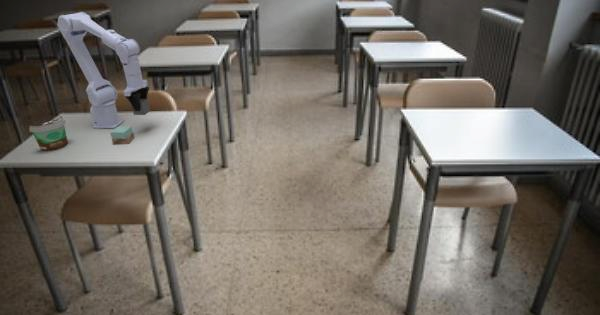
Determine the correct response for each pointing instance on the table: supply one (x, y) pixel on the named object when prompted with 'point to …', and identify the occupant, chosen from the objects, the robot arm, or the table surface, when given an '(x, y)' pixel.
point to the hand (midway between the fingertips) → (140, 108)
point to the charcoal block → (142, 107)
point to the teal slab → (121, 132)
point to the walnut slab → (123, 140)
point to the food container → (50, 134)
